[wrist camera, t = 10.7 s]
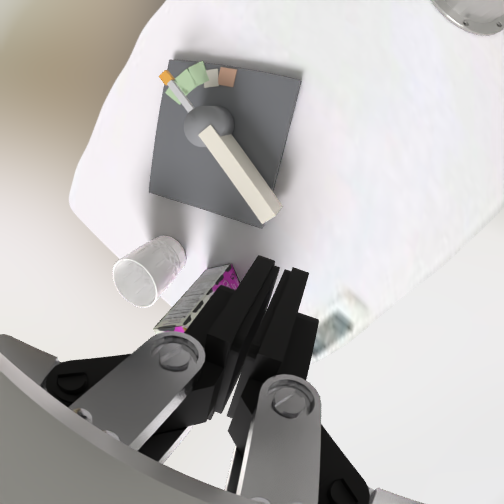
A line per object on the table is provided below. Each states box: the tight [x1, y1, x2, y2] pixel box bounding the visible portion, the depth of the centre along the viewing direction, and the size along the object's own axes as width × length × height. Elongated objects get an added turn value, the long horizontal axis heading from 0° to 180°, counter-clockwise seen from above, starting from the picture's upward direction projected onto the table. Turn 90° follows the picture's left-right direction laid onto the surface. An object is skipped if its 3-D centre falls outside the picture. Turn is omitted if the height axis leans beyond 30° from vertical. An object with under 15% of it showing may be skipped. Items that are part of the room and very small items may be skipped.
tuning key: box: [159, 70, 283, 224], centre depth 36 cm, size 22×5×4 cm, turn 38°
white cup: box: [112, 235, 186, 308], centre depth 46 cm, size 8×8×10 cm
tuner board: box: [149, 60, 301, 228], centre depth 39 cm, size 20×18×1 cm
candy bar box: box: [153, 264, 240, 334], centre depth 43 cm, size 11×5×16 cm, turn 23°
